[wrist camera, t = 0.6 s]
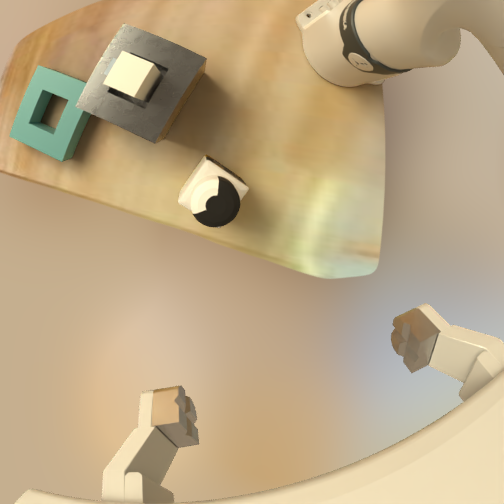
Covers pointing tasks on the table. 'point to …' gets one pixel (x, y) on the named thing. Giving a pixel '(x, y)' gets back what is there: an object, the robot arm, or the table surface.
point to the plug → (133, 76)
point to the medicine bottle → (213, 193)
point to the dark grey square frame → (165, 96)
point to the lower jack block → (33, 107)
